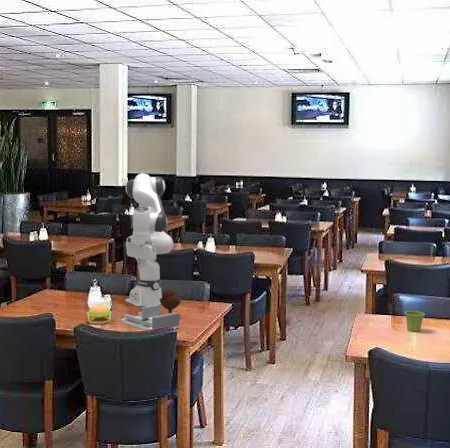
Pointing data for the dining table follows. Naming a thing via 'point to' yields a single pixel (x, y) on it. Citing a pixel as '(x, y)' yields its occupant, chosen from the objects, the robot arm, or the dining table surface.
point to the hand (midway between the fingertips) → (141, 267)
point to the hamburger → (99, 314)
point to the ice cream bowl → (169, 300)
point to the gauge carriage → (150, 312)
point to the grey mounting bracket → (157, 321)
